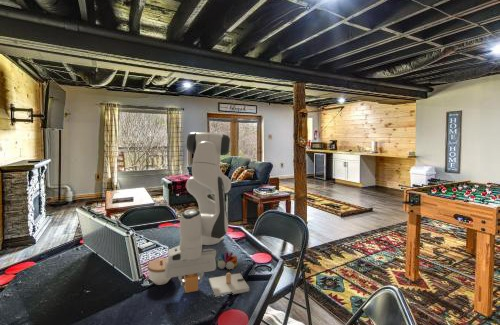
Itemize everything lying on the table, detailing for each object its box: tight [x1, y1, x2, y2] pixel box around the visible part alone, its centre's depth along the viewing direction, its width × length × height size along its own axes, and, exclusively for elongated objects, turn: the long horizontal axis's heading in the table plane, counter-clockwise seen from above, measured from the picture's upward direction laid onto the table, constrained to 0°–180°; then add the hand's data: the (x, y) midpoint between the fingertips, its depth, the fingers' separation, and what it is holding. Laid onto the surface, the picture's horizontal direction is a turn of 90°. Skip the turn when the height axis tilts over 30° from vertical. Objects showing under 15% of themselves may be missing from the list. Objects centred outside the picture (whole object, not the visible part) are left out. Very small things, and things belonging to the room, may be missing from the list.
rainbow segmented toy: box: [217, 250, 238, 271], centre depth 127 cm, size 8×10×7 cm
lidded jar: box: [147, 257, 172, 286], centre depth 113 cm, size 11×11×9 cm
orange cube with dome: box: [183, 273, 199, 294], centre depth 108 cm, size 5×5×7 cm
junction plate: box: [208, 272, 250, 298], centre depth 111 cm, size 12×14×6 cm
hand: (190, 283), depth 108 cm, fingers closed on orange cube with dome, 5 cm apart
